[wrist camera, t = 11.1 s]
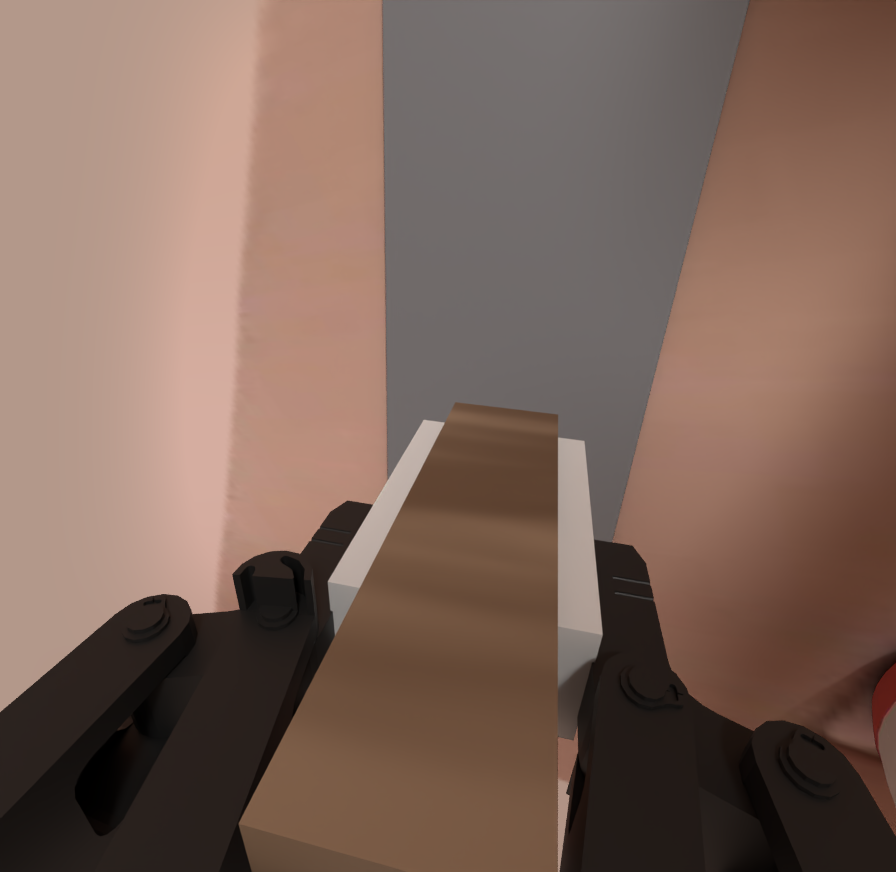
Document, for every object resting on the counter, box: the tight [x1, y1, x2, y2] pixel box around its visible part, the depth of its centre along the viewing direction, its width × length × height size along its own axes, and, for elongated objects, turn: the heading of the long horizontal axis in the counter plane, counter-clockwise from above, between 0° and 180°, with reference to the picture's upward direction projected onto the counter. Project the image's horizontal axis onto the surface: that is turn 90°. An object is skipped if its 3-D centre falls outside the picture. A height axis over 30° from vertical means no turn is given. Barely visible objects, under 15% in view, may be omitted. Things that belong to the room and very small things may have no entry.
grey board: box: [383, 0, 750, 542], centre depth 24 cm, size 38×13×3 cm, turn 177°
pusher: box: [239, 402, 558, 872], centre depth 11 cm, size 9×10×11 cm
